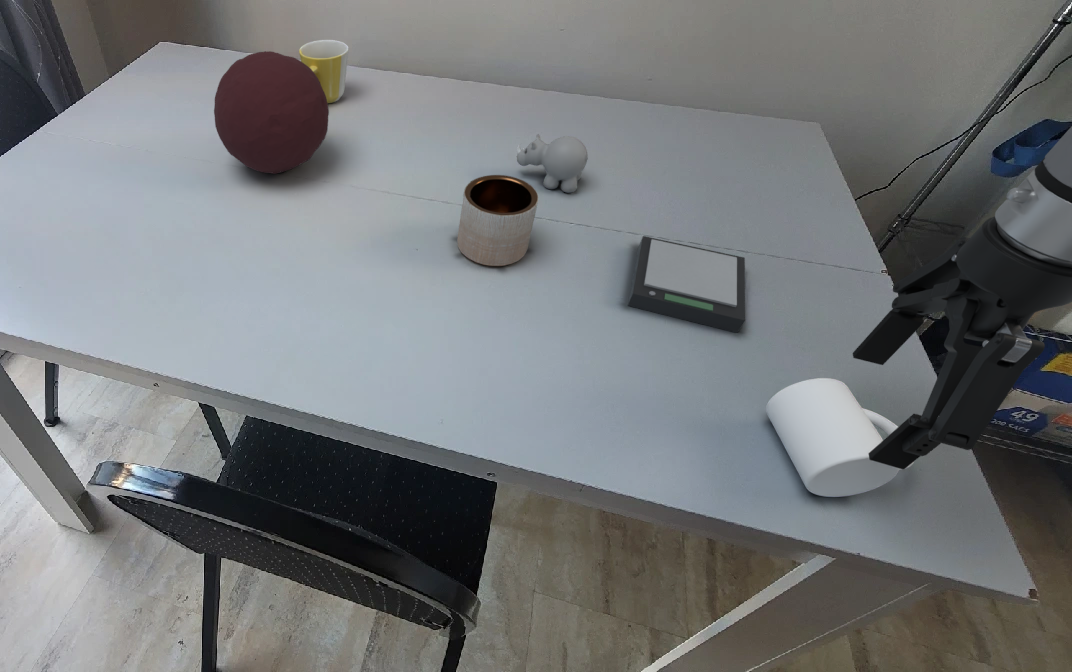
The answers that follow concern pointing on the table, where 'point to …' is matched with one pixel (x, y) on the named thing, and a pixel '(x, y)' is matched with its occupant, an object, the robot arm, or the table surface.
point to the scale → (689, 284)
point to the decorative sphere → (271, 112)
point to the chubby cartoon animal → (556, 160)
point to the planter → (496, 219)
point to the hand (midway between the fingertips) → (875, 407)
